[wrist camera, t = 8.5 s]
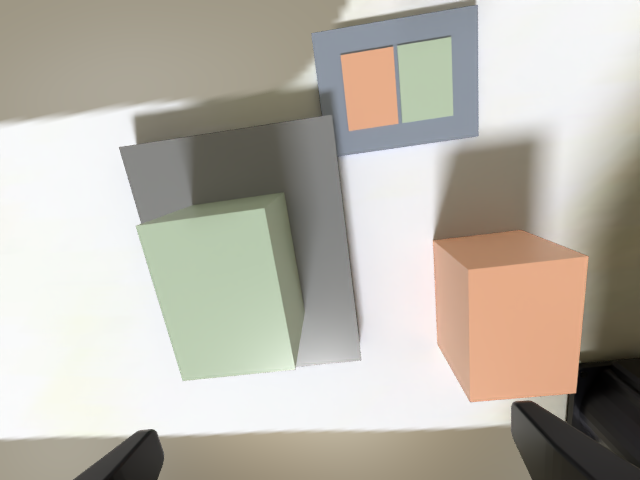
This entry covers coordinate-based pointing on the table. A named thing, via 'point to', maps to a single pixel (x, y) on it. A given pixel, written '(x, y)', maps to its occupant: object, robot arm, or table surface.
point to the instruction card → (400, 80)
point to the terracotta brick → (510, 314)
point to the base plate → (263, 179)
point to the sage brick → (227, 286)
